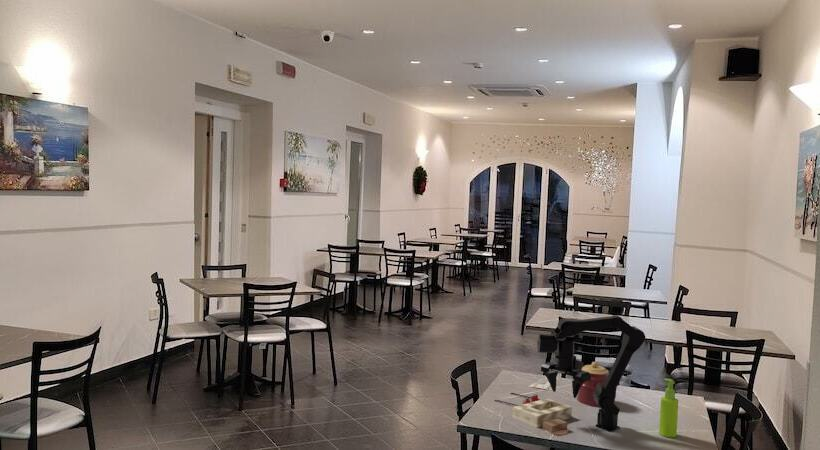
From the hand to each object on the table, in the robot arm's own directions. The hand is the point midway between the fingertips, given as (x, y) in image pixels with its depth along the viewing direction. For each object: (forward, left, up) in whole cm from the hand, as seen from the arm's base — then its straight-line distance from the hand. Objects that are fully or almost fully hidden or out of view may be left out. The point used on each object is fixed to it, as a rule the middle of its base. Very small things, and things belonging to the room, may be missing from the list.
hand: (564, 394), depth 237 cm
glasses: (+28, -4, -13) cm, 31 cm away
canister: (+11, -33, -12) cm, 37 cm away
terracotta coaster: (-2, +7, -12) cm, 14 cm away
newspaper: (+39, -34, -13) cm, 53 cm away
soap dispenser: (-26, -27, -12) cm, 40 cm away
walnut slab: (-2, +7, -11) cm, 13 cm away
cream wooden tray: (+9, +1, -12) cm, 15 cm away
